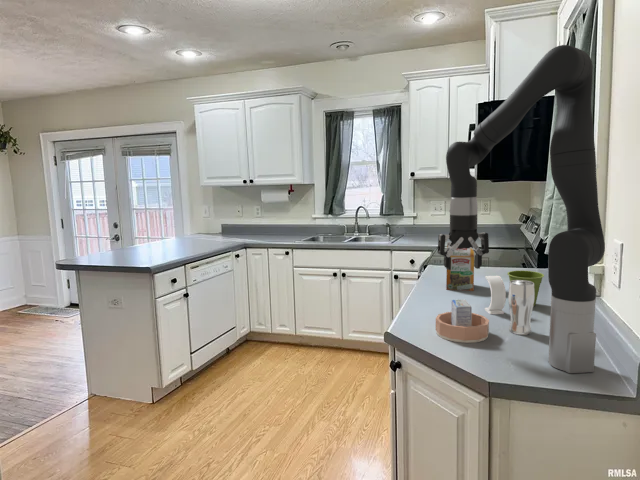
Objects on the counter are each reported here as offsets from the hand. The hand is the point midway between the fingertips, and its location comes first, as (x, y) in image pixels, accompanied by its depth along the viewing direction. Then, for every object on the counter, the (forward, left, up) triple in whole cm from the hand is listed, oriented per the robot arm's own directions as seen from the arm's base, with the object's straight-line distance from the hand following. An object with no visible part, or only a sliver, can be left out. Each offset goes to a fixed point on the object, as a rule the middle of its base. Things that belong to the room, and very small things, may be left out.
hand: (462, 268), depth 129 cm
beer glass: (0, -17, -20) cm, 27 cm away
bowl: (0, 0, -20) cm, 20 cm away
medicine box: (0, 0, -19) cm, 19 cm away
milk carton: (+54, -19, -20) cm, 60 cm away
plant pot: (+26, -32, -20) cm, 46 cm away
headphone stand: (+19, -18, -20) cm, 33 cm away
